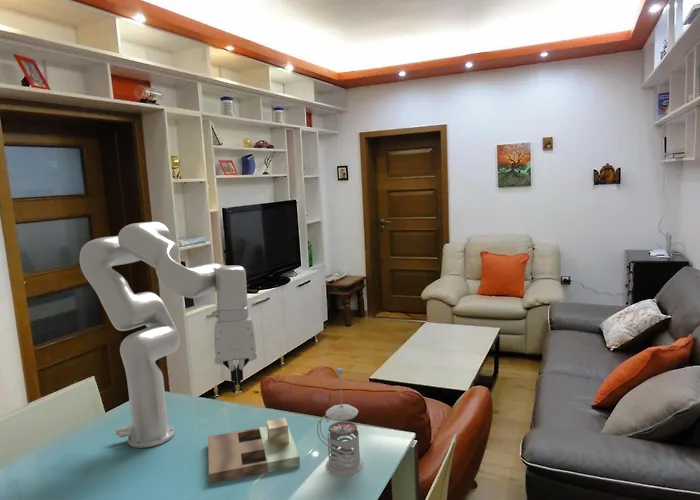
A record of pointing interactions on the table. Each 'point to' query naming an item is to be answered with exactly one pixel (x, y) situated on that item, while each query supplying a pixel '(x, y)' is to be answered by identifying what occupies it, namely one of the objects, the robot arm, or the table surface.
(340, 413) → the french press
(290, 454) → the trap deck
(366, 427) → the table surface
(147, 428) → the robot arm
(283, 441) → the maple block
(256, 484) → the table surface
